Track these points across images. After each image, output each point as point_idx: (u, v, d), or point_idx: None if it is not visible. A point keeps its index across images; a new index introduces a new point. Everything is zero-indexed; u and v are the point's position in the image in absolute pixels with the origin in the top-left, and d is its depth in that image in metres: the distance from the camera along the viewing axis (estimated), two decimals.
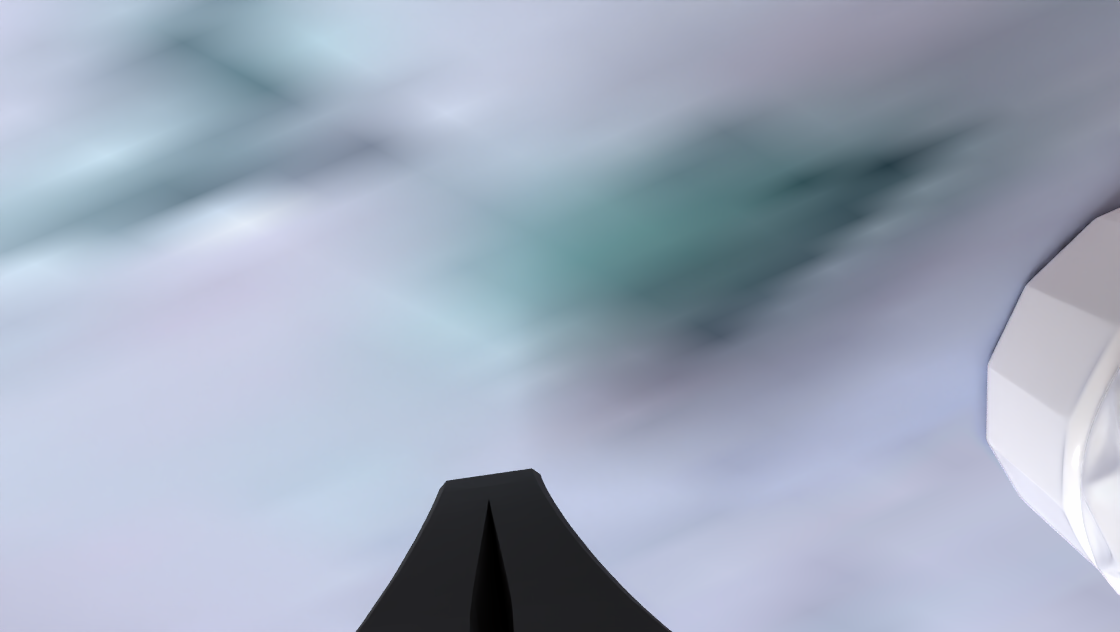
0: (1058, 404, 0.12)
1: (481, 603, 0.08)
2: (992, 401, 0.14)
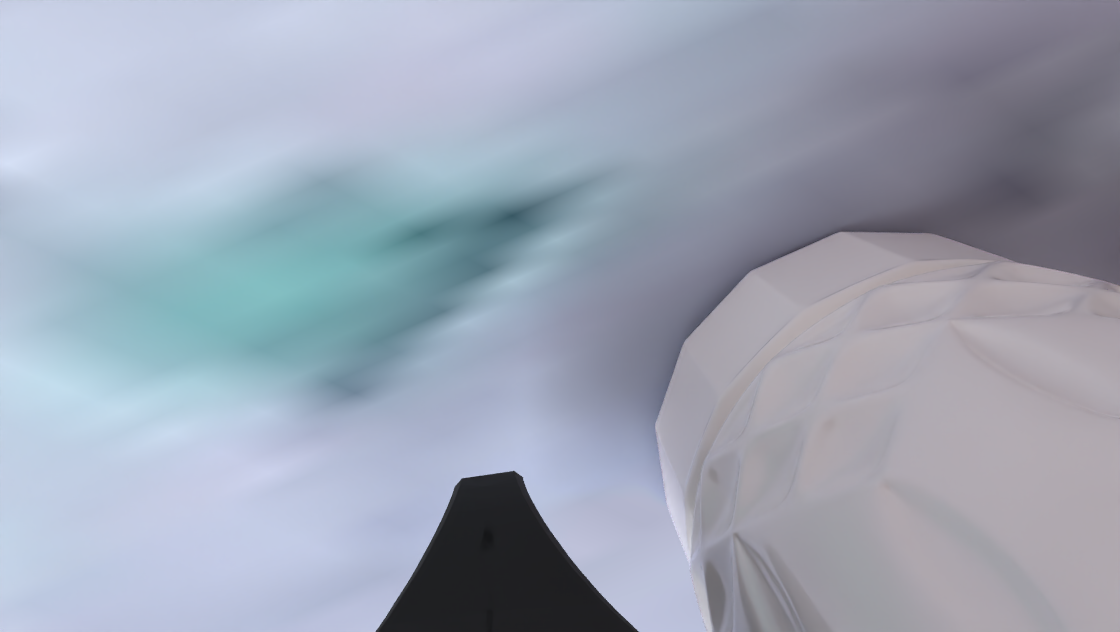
0: (681, 474, 0.11)
1: None
2: (660, 463, 0.13)
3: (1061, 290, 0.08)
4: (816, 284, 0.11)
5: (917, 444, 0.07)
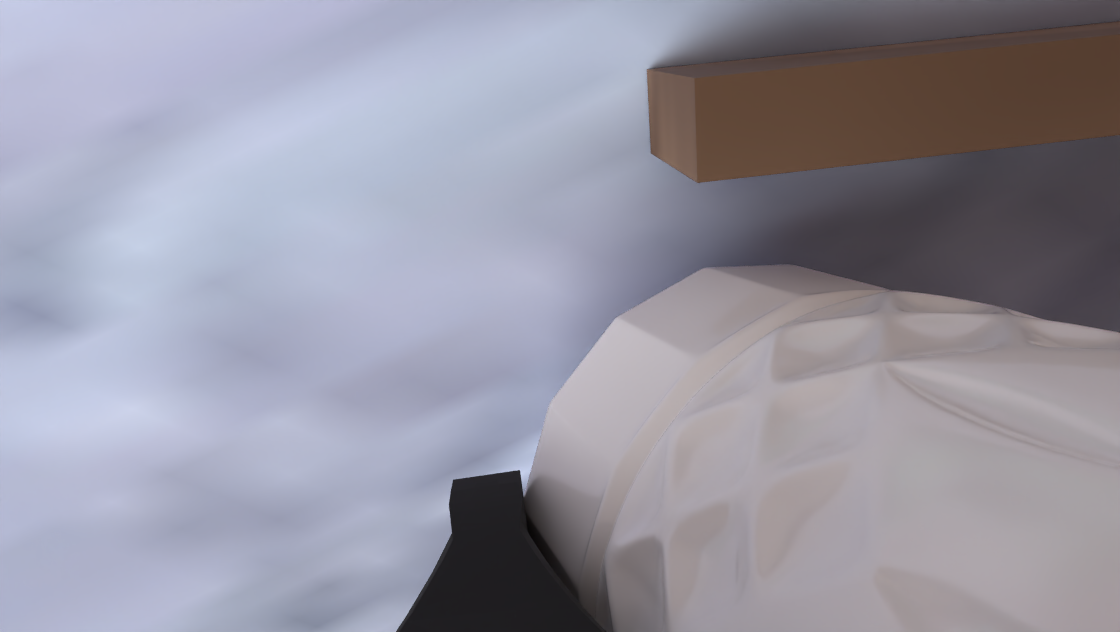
0: (570, 565, 0.09)
1: None
2: None
3: (976, 319, 0.08)
4: (701, 328, 0.10)
5: (909, 521, 0.06)
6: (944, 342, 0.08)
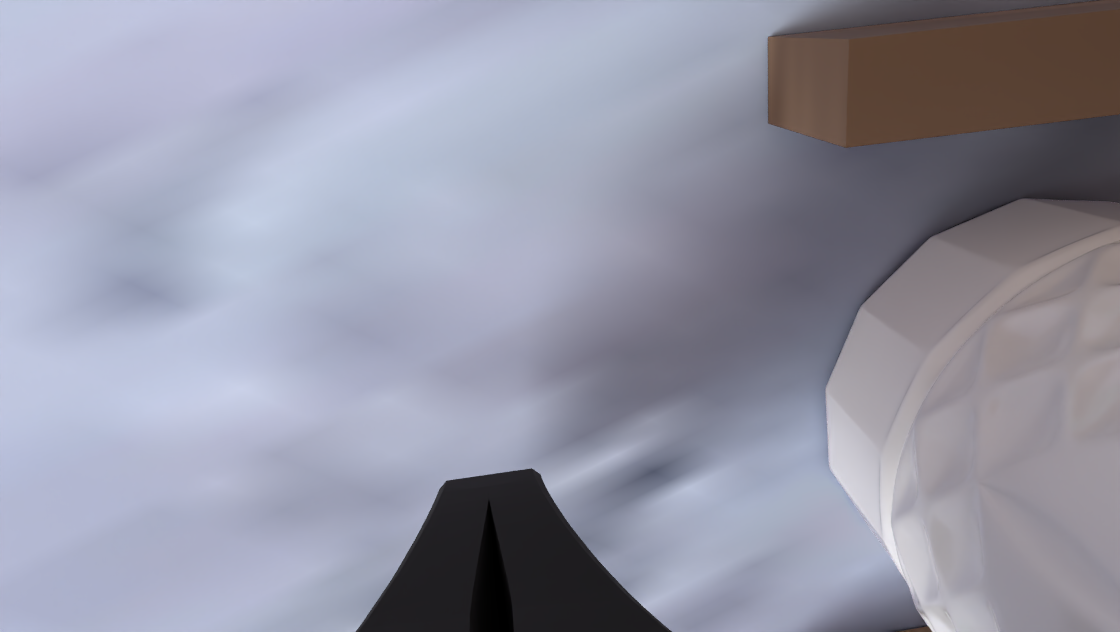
0: (874, 434, 0.11)
1: (481, 603, 0.08)
2: (830, 427, 0.13)
3: None
4: (1019, 247, 0.11)
5: None
6: None
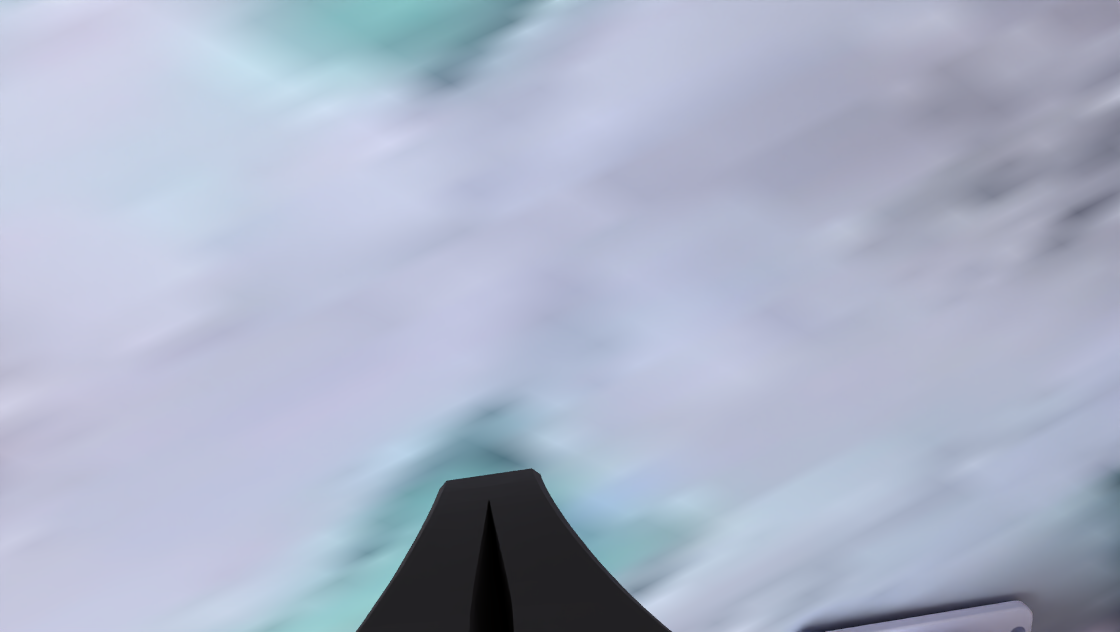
0: None
1: (481, 603, 0.08)
2: None
3: None
4: None
5: None
6: None
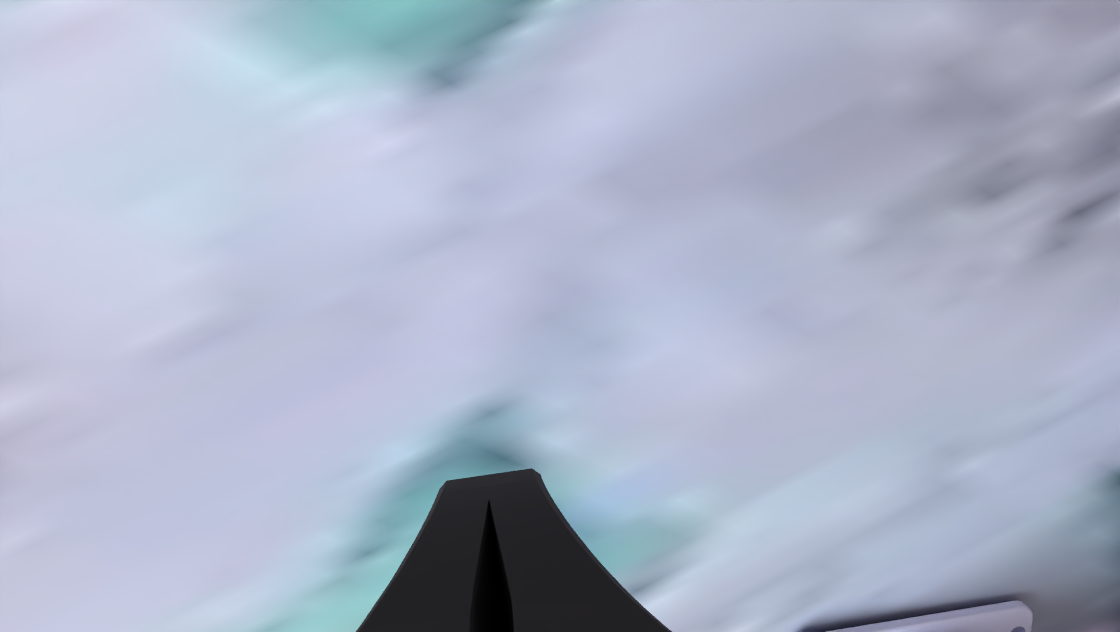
0: None
1: (481, 603, 0.08)
2: None
3: None
4: None
5: None
6: None
